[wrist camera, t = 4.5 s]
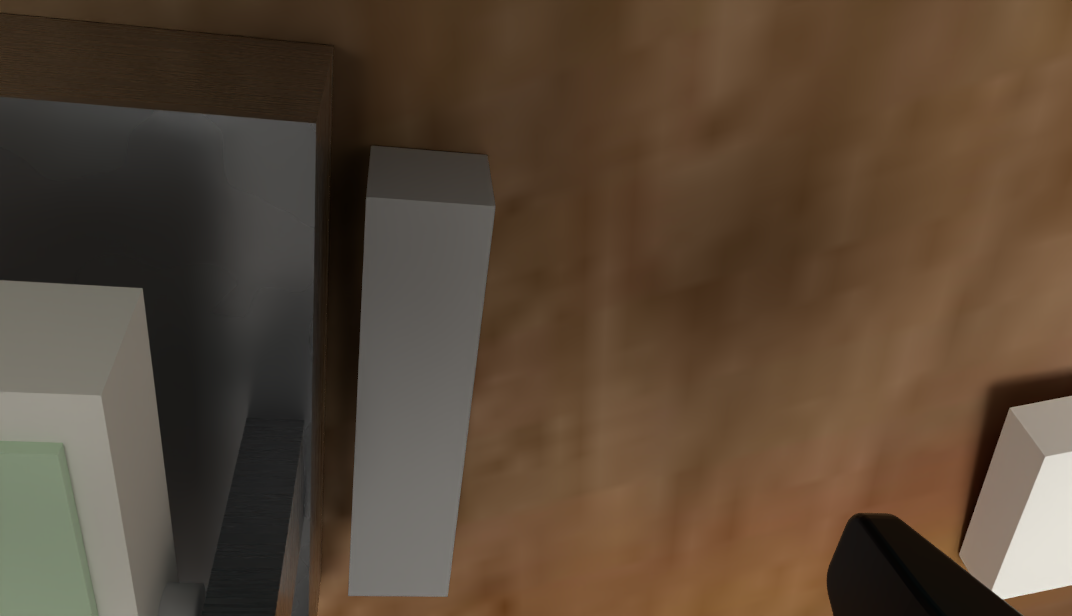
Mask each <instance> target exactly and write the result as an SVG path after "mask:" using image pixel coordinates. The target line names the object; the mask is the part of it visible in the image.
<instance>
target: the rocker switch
mask: <svg viewBox="0 0 1072 616" xmlns="http://www.w3.org/2000/svg"><path fill="white" fill-rule="evenodd" d="M205 596H206V590H205V585H204V583H179V581H178V573H177V565H176V556H175V548H174V540H173V532H172V524H171V516H170V508H169V499H168V491H167V483H166V475H165V467H164V459H163V451H162V443H161V434H160V426H159V418H158V410H157V402H156V394H155V386H154V377H153V369H152V361H151V353H150V345H149V337H148V329H147V321H146V312H145V304H144V296H143V288H130V287H112V286H95V285H77V284H59V283H41V282H24V281H6V280H0V616H201V614H202V609H203V605H204V601H205Z"/></svg>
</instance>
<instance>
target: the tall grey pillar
mask: <svg viewBox="0 0 1072 616" xmlns="http://www.w3.org/2000/svg"><path fill="white" fill-rule="evenodd" d="M494 214H495V200H494V194H493V187H492V181H491V175H490V168H489V162H488V156H487V155H481V154H468V153H456V152H444V151H431V150H419V149H407V148H395V147H382V146H371V152H370V163H369V173H368V184H367V194H366V214H365V236H364V258H363V280H362V302H361V324H360V346H359V368H358V390H357V413H356V435H355V457H354V479H353V501H352V523H351V545H350V567H349V589H348V596H431V597H448V589H449V581H450V573H451V565H452V557H453V549H454V540H455V532H456V524H457V516H458V508H459V500H460V492H461V483H462V475H463V467H464V459H465V451H466V443H467V435H468V426H469V418H470V410H471V402H472V394H473V386H474V377H475V369H476V361H477V353H478V345H479V337H480V329H481V320H482V312H483V304H484V296H485V288H486V280H487V272H488V263H489V255H490V247H491V239H492V231H493V223H494Z"/></svg>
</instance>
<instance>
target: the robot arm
mask: <svg viewBox="0 0 1072 616" xmlns="http://www.w3.org/2000/svg"><path fill="white" fill-rule="evenodd" d="M827 590H828V595H829V600H830V604H831V608H832V612H833V616H1023V615H1022V614H1021V613H1019V612H1018V611H1017V610H1015V609H1014V608H1013V607H1012V606H1010V605H1009V604H1008V603H1007V602H1005V601H1004V600H1003V599H1001V598H1000V597H999V596H998V595H996V594H995V593H994V592H993V591H991V590H990V589H989V588H987V587H986V586H985V585H984V584H982V583H981V582H980V581H979V580H977V579H976V578H975V577H973V576H972V575H971V574H970V573H968V572H967V571H966V570H965V569H963V568H962V567H961V566H959V565H958V564H957V563H956V562H954V561H953V560H952V559H951V558H949V557H948V556H947V555H945V554H944V553H943V552H942V551H940V550H939V549H938V548H936V547H935V546H934V545H933V544H931V543H930V542H929V541H928V540H926V539H925V538H924V537H922V536H921V535H920V534H919V533H917V532H916V531H915V530H914V529H912V528H911V527H910V526H908V525H907V524H906V523H905V522H903V521H902V520H901V519H899V518H898V517H896V516H894V515H891V514H886V513H858V514H855V515H853V516H852V517H851V518H850V519H849V520H848V522H847V524H846V526H845V529H844V531H843V534H842V536H841V538H840V541H839V543H838V546H837V548H836V550H835V553H834V555H833V558H832V560H831V562H830V565H829V568H828V572H827Z"/></svg>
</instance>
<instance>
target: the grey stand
mask: <svg viewBox="0 0 1072 616" xmlns="http://www.w3.org/2000/svg"><path fill="white" fill-rule="evenodd" d="M333 51H334V46H331V45H321V44H311V43H300V42H290V41H280V40H270V39H259V38H249V37H239V36H228V35H218V34H208V33H197V32H187V31H177V30H166V29H156V28H146V27H136V26H125V25H115V24H105V23H94V22H84V21H74V20H63V19H53V18H43V17H32V16H22V15H12V14H2V13H0V280H6V281H24V282H41V283H59V284H77V285H95V286H112V287H130V288H143V296H144V304H145V312H146V321H147V329H148V337H149V345H150V353H151V361H152V369H153V377H154V386H155V394H156V402H157V410H158V418H159V426H160V434H161V443H162V451H163V459H164V467H165V475H166V483H167V491H168V499H169V508H170V516H171V524H172V532H173V540H174V548H175V556H176V565H177V573H178V581H179V583H204V585H205V590H206V596H205V601H204V605H203V609H202V614H201V616H317V611H318V601H319V591H320V582H321V556H322V514H323V472H324V430H325V388H326V346H327V303H328V261H329V219H330V177H331V135H332V93H333Z"/></svg>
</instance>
